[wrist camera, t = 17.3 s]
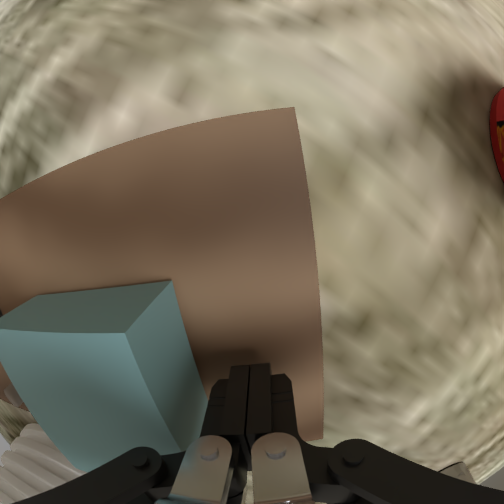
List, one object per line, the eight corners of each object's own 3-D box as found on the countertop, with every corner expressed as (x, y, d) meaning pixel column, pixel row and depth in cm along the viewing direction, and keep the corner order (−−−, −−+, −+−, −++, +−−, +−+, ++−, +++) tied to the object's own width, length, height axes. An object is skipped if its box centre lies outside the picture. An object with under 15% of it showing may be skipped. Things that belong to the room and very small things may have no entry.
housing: (222, 437, 12) (212, 497, 8) (100, 425, 12) (75, 468, 8) (172, 280, 10) (124, 332, 6) (37, 295, 10) (-15, 327, 6)
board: (319, 424, 13) (331, 479, 9) (2, 391, 15) (-18, 411, 11) (290, 115, 10) (307, 75, 6) (-53, 240, 12) (-83, 250, 8)
